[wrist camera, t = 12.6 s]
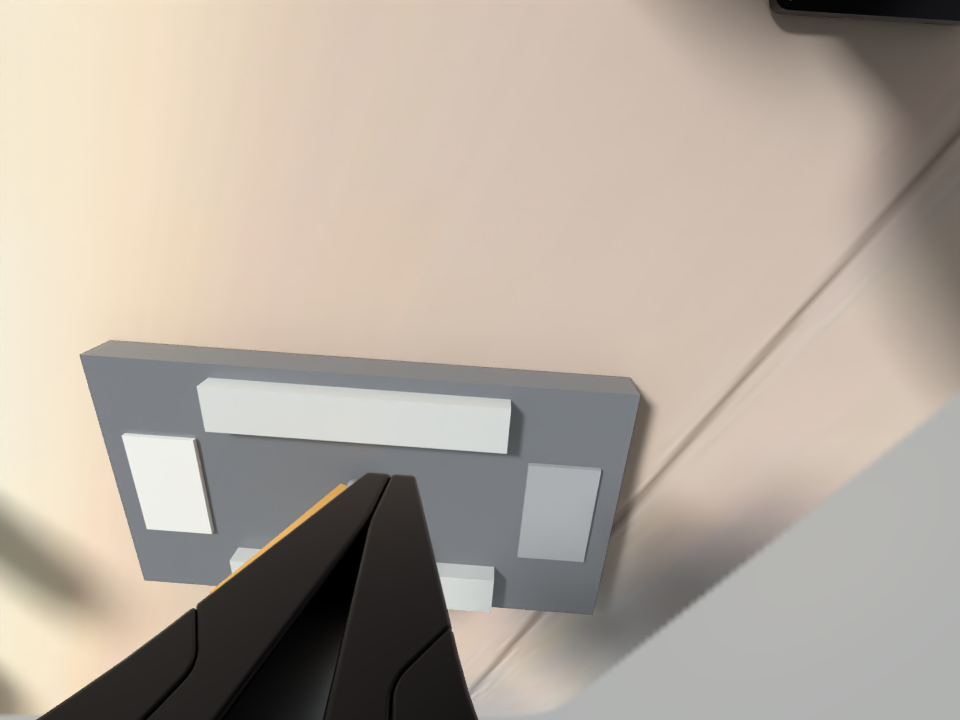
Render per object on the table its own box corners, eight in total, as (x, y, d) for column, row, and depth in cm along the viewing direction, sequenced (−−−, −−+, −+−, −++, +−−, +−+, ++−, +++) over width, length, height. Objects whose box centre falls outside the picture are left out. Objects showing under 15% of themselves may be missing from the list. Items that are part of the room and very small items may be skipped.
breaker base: (630, 377, 20) (646, 405, 18) (587, 587, 25) (595, 629, 22) (110, 340, 20) (62, 362, 18) (165, 555, 25) (132, 594, 23)
